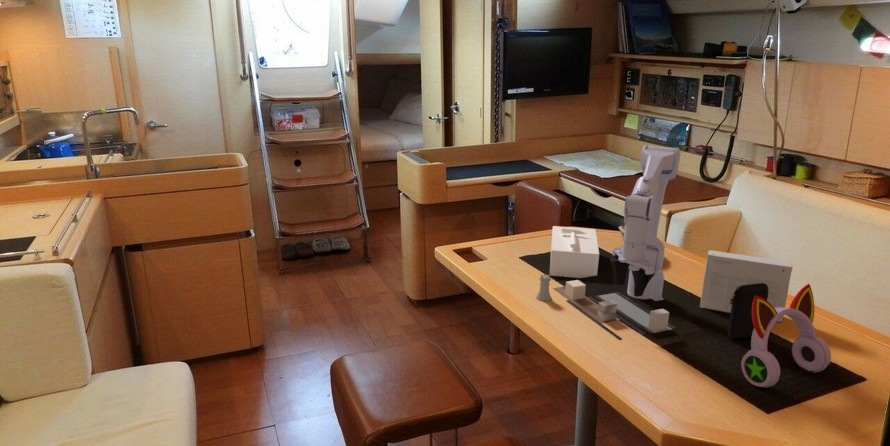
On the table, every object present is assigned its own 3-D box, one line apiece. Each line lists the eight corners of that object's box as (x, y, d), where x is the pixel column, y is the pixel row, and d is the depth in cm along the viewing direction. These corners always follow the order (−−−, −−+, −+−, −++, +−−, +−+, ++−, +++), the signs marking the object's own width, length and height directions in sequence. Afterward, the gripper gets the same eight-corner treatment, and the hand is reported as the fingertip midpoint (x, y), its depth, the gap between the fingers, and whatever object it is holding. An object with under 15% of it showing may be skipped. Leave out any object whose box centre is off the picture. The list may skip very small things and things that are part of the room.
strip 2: (614, 296, 185) (616, 278, 183) (671, 332, 164) (674, 313, 162) (597, 299, 183) (599, 281, 181) (653, 336, 162) (655, 316, 160)
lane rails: (617, 296, 185) (618, 291, 185) (675, 332, 164) (675, 327, 164) (565, 304, 179) (566, 300, 178) (618, 344, 158) (619, 339, 157)
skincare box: (781, 315, 176) (792, 261, 171) (782, 323, 171) (793, 268, 166) (700, 300, 184) (708, 248, 179) (699, 307, 179) (707, 254, 174)
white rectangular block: (593, 252, 221) (595, 222, 217) (596, 280, 197) (599, 247, 194) (550, 249, 223) (553, 219, 220) (549, 276, 200) (552, 243, 196)
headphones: (768, 396, 137) (785, 312, 131) (731, 373, 146) (746, 293, 139) (829, 377, 145) (847, 297, 139) (790, 357, 154) (806, 280, 147)
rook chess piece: (551, 305, 178) (553, 279, 176) (534, 304, 179) (536, 278, 176) (551, 299, 182) (553, 273, 180) (536, 297, 183) (537, 272, 181)
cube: (576, 292, 184) (577, 279, 183) (584, 298, 181) (585, 285, 179) (564, 294, 183) (565, 281, 181) (572, 300, 179) (573, 286, 178)
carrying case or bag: (728, 342, 160) (737, 288, 155) (719, 337, 162) (729, 284, 158) (763, 337, 163) (773, 284, 158) (754, 332, 165) (764, 280, 161)
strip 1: (569, 288, 189) (571, 271, 188) (619, 323, 168) (622, 304, 166) (552, 291, 187) (553, 274, 185) (600, 326, 166) (602, 307, 164)
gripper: (605, 233, 167) (600, 281, 171) (640, 252, 154) (634, 303, 159) (627, 231, 170) (621, 278, 174) (663, 249, 157) (656, 299, 161)
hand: (629, 289), depth 166 cm, fingers open, 7 cm apart
